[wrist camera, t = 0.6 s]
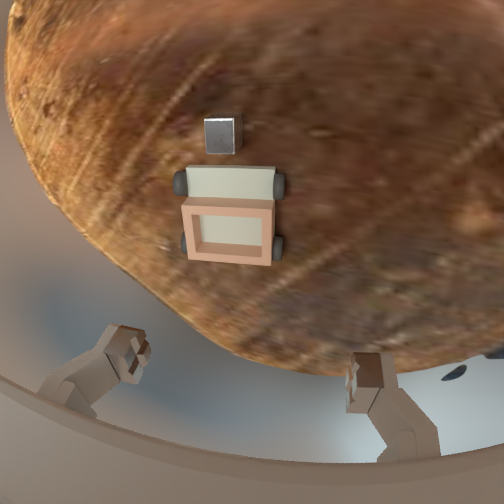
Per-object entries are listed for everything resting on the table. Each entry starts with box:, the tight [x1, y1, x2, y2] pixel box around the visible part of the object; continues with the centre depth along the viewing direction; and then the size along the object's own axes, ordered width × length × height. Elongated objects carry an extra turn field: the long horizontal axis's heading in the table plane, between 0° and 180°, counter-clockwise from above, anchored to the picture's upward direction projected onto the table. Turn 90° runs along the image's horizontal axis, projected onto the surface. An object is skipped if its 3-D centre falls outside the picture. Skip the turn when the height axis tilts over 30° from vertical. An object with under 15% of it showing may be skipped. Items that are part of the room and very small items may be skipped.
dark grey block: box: [204, 112, 243, 154], centre depth 43 cm, size 5×4×6 cm
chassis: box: [173, 165, 285, 266], centre depth 51 cm, size 16×17×5 cm
